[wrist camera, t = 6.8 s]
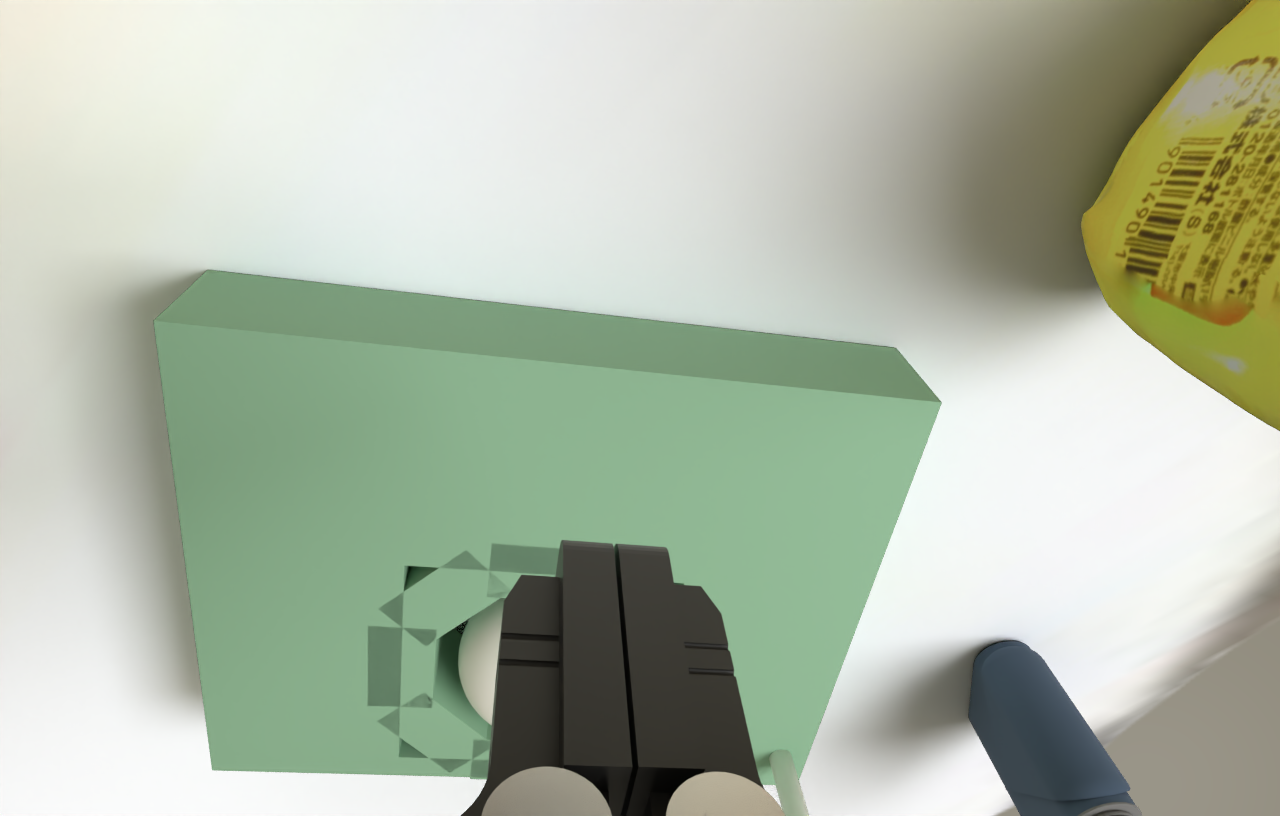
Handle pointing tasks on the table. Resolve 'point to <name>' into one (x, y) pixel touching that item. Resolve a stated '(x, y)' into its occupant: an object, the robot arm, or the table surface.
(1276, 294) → the bottle
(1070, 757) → the vaping device
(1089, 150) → the table surface
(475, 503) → the green
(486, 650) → the ball
